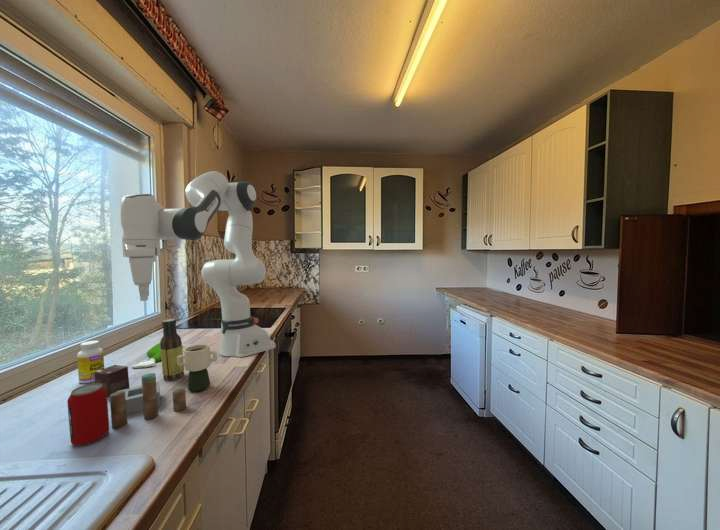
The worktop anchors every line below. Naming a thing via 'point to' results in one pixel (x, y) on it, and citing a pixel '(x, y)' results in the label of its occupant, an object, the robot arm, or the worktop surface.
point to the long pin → (149, 396)
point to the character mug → (197, 365)
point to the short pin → (179, 400)
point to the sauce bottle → (171, 351)
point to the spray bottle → (156, 356)
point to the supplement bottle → (89, 361)
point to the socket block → (137, 398)
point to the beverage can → (88, 414)
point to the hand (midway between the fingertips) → (144, 298)
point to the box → (113, 378)
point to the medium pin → (118, 409)
